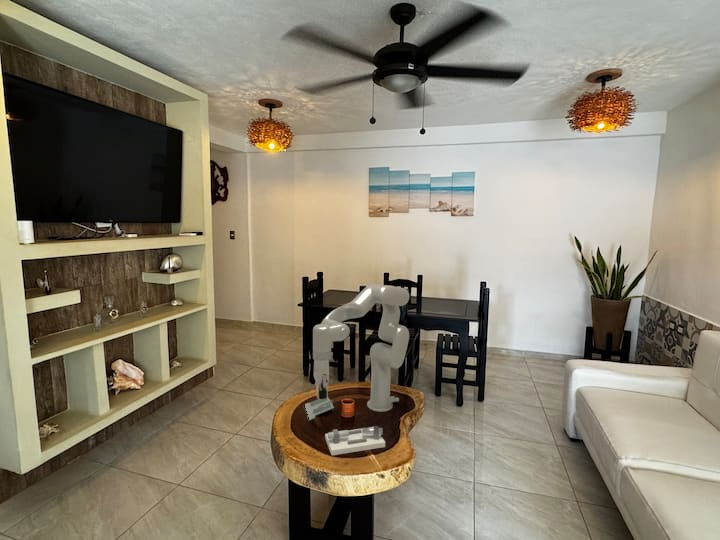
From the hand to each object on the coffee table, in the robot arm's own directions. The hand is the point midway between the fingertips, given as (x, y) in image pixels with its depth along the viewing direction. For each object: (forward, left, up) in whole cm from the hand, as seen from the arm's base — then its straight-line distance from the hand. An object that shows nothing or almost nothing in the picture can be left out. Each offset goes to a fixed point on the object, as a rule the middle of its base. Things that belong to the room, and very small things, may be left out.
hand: (321, 395), depth 154 cm
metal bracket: (-3, -18, -17) cm, 25 cm away
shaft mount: (-12, +11, -16) cm, 23 cm away
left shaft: (-19, +12, -14) cm, 27 cm away
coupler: (0, 0, -1) cm, 1 cm away
